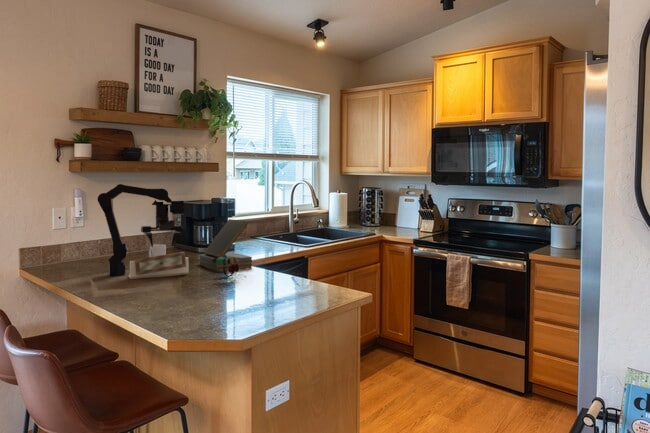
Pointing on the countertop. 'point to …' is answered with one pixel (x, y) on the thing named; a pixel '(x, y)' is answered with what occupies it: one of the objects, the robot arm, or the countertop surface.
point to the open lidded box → (225, 247)
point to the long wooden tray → (158, 274)
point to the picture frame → (160, 263)
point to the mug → (157, 250)
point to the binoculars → (226, 261)
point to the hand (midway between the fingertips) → (162, 246)
